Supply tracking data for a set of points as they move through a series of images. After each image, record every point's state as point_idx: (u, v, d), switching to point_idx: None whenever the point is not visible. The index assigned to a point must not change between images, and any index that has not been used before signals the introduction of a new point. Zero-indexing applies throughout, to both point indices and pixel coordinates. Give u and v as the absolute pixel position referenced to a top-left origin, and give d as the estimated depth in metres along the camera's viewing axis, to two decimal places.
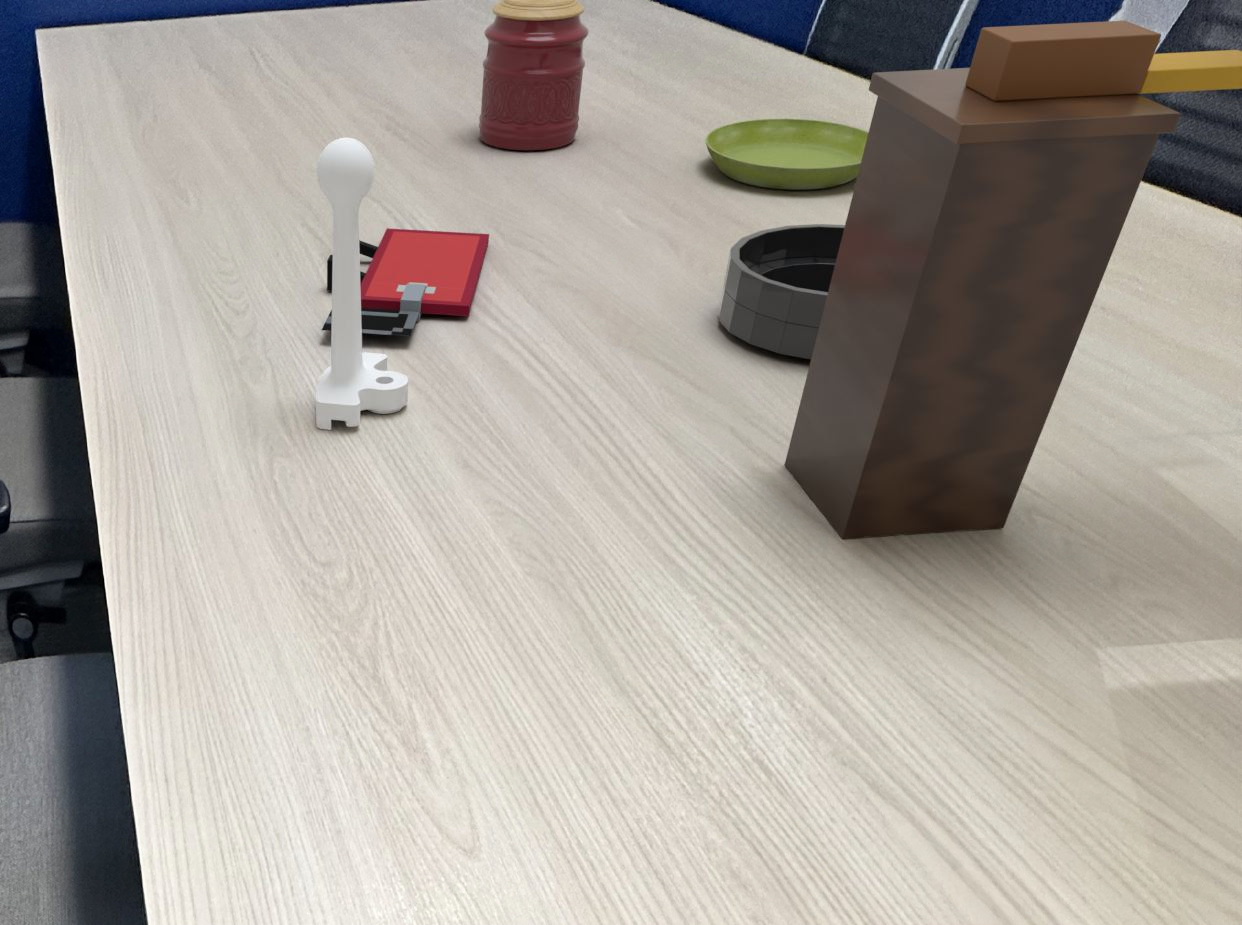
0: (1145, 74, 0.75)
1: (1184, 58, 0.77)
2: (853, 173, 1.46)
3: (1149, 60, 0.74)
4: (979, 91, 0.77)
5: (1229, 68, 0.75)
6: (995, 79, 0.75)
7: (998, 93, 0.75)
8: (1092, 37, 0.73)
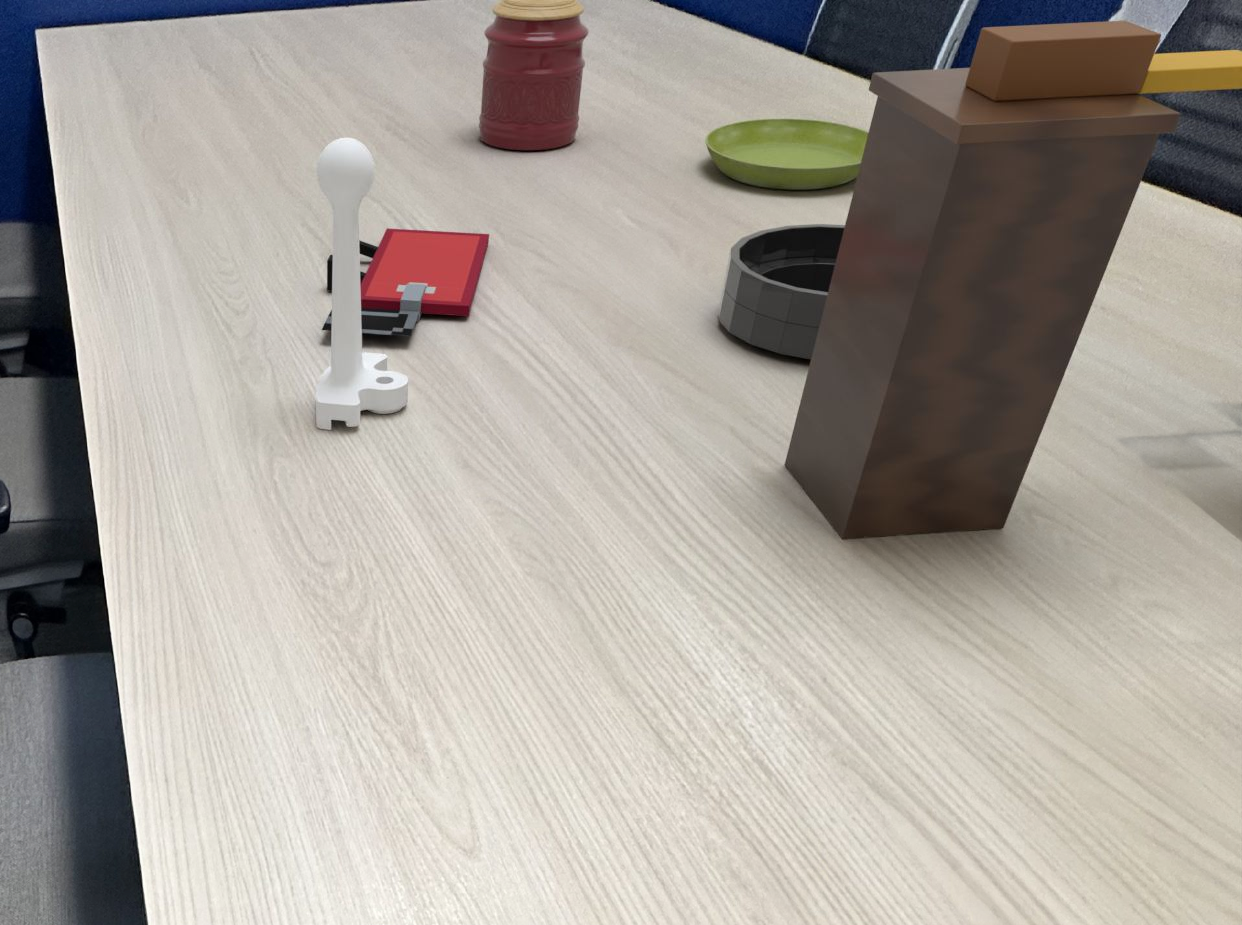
0: (1145, 74, 0.75)
1: (1184, 58, 0.77)
2: (853, 173, 1.46)
3: (1149, 60, 0.74)
4: (979, 91, 0.77)
5: (1229, 68, 0.75)
6: (995, 79, 0.75)
7: (998, 93, 0.75)
8: (1092, 37, 0.73)
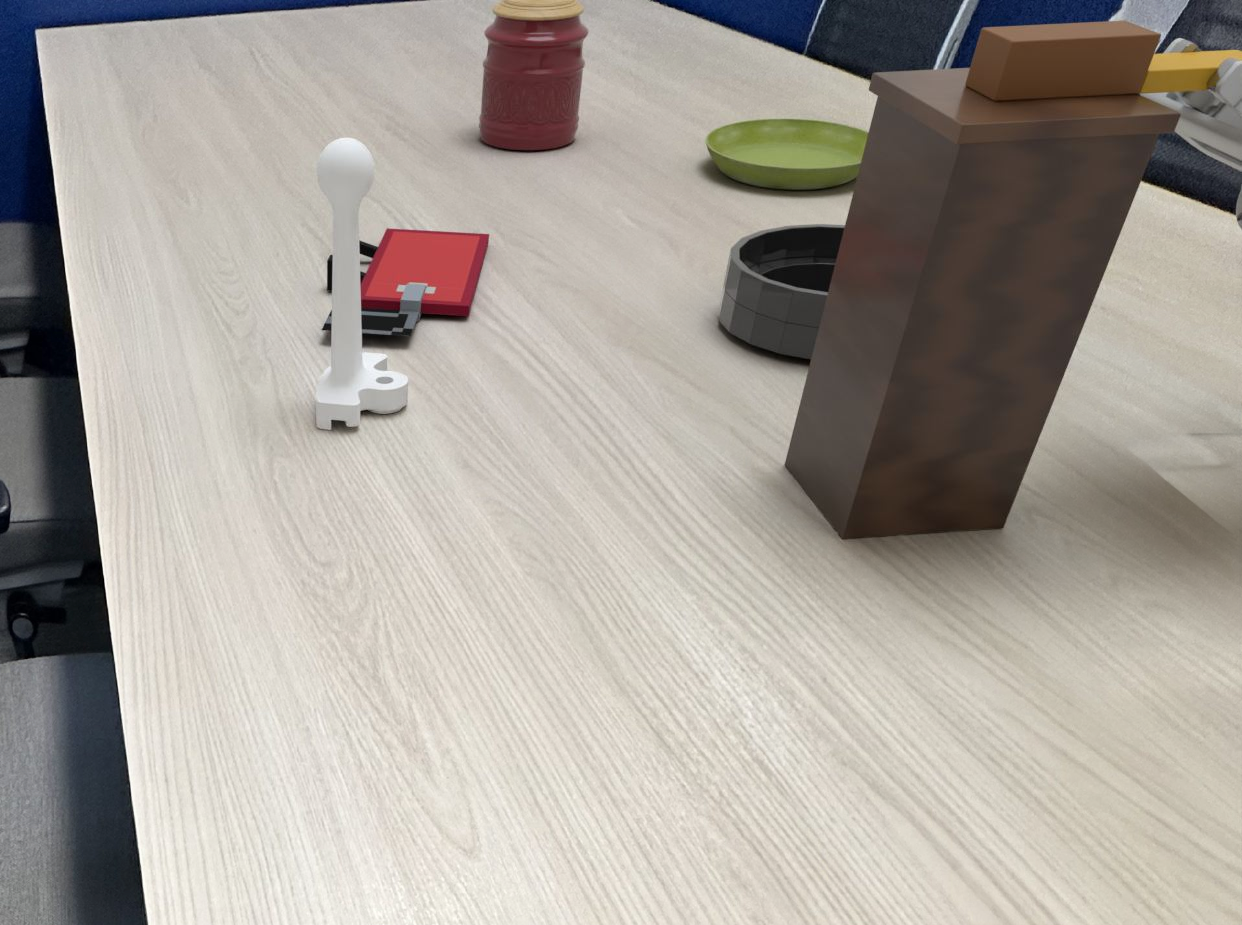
0: (1145, 74, 0.75)
1: (1184, 58, 0.77)
2: (853, 173, 1.46)
3: (1149, 60, 0.74)
4: (979, 91, 0.77)
5: None
6: (995, 79, 0.75)
7: (998, 93, 0.75)
8: (1092, 37, 0.73)
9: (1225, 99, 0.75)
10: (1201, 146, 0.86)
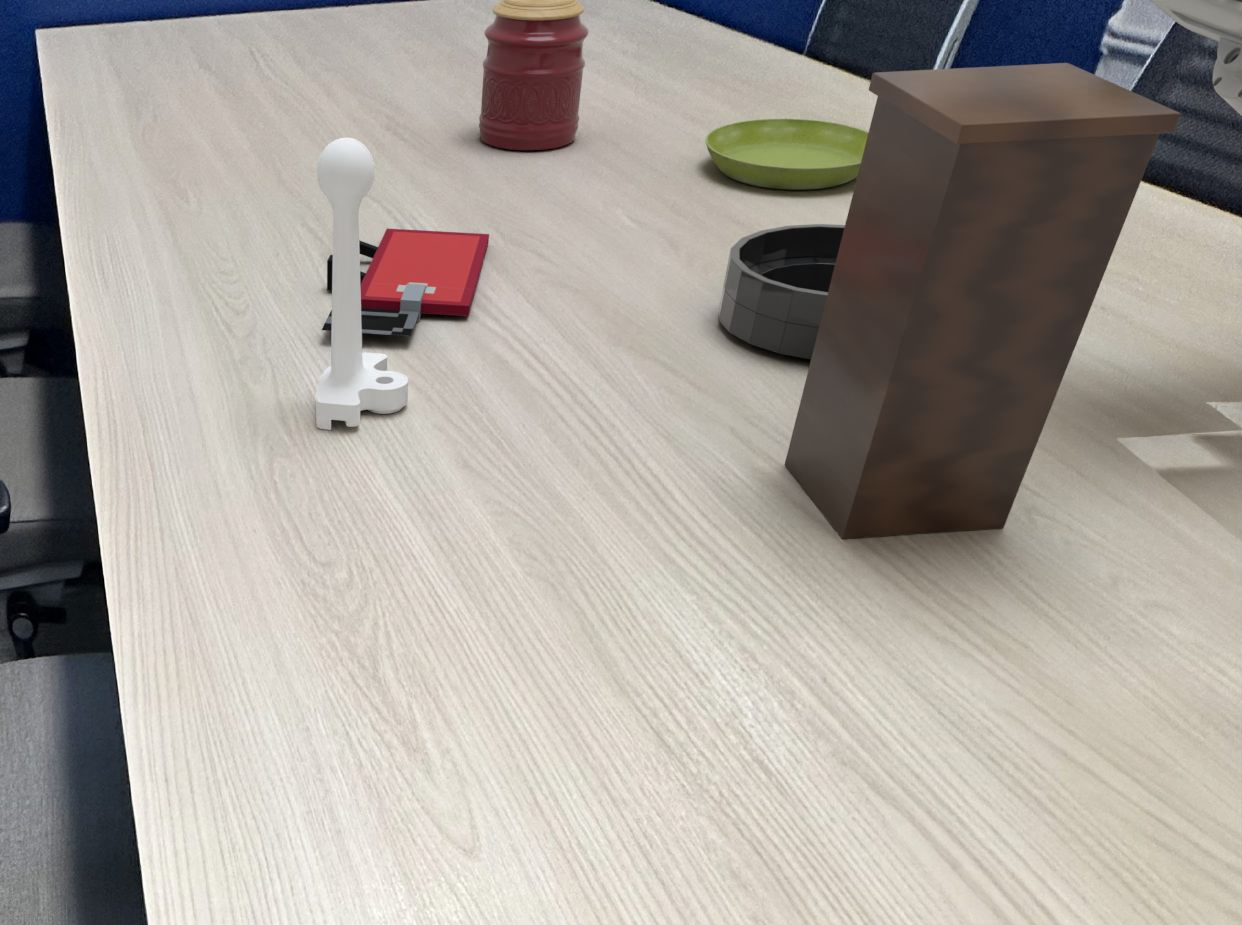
0: None
1: None
2: (853, 173, 1.46)
3: None
4: None
5: None
6: None
7: None
8: None
9: None
10: (1181, 19, 0.95)
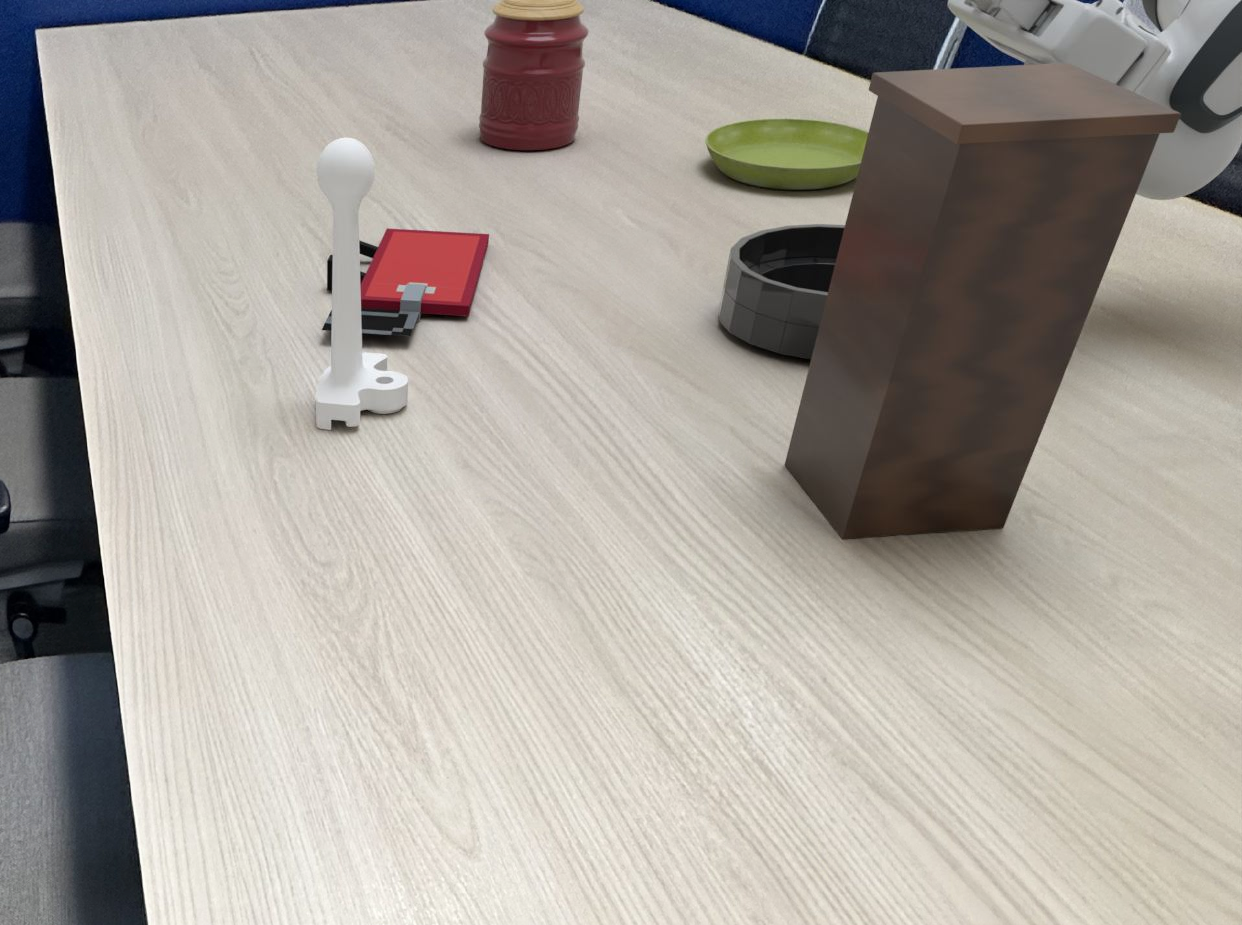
0: None
1: None
2: (853, 173, 1.46)
3: None
4: None
5: None
6: None
7: None
8: None
9: None
10: (996, 44, 1.10)
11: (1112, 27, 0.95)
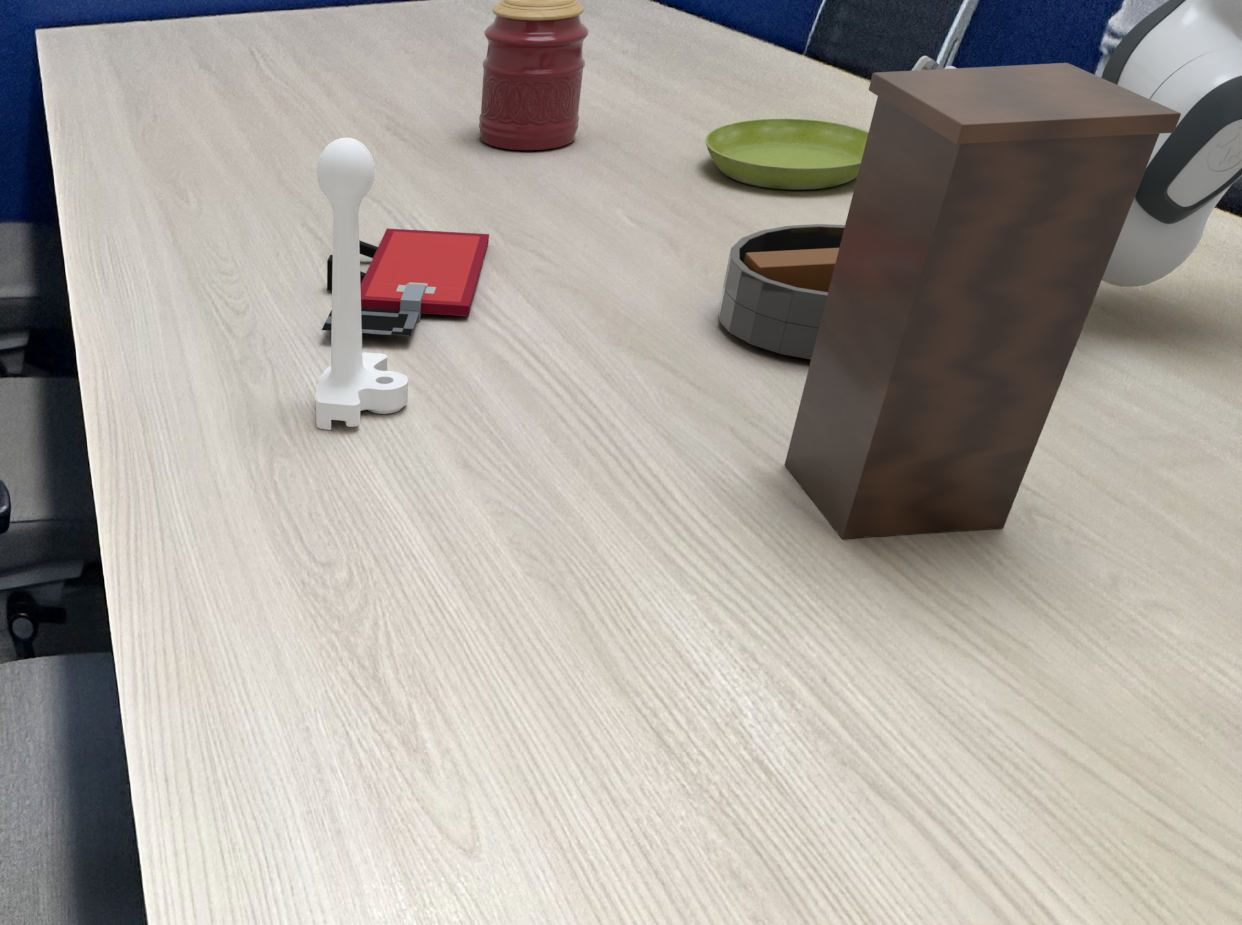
0: None
1: None
2: (853, 173, 1.46)
3: None
4: None
5: None
6: None
7: None
8: (812, 264, 1.13)
9: None
10: None
11: None
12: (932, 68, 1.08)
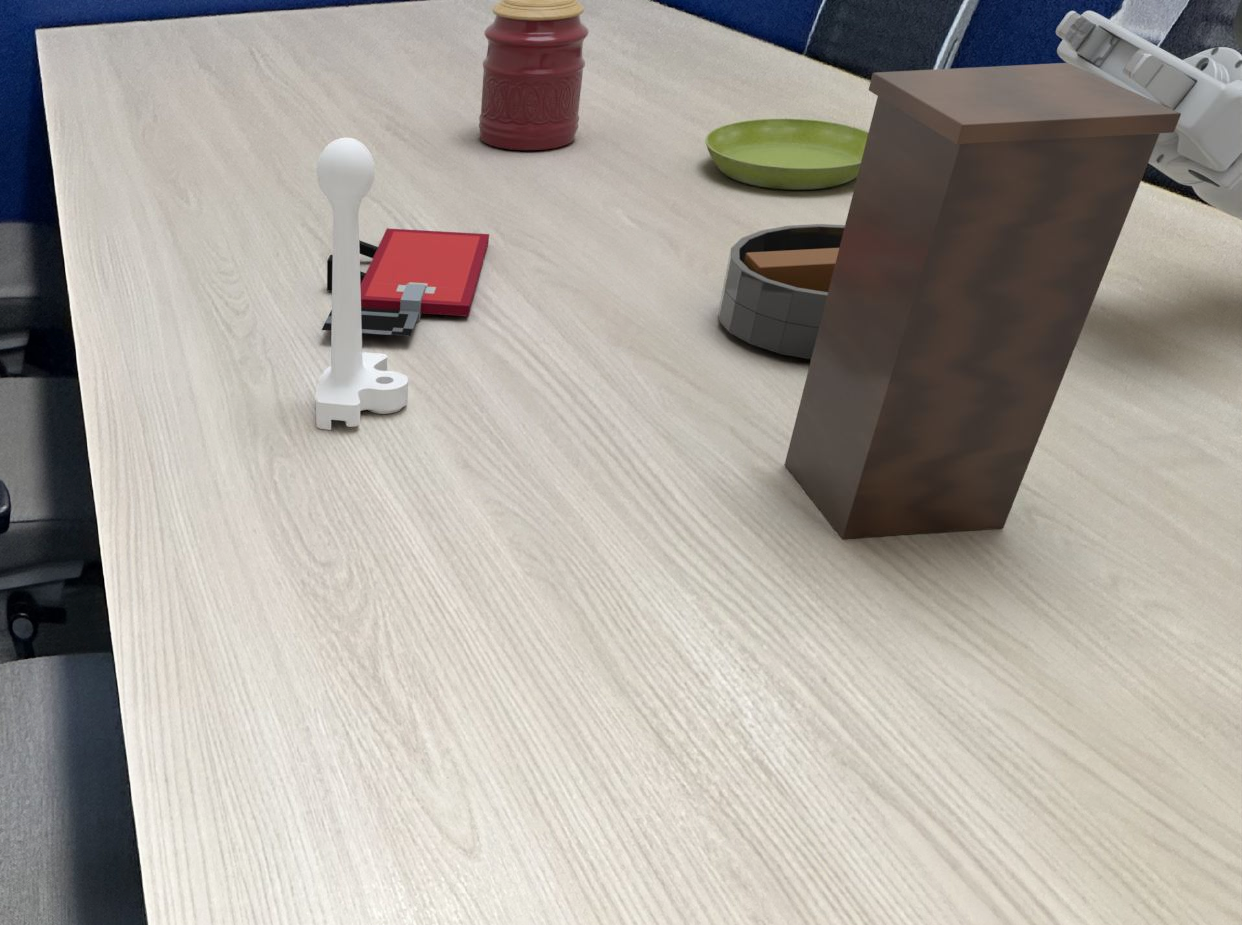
0: None
1: None
2: (853, 173, 1.46)
3: None
4: None
5: None
6: None
7: None
8: (812, 264, 1.13)
9: (1138, 83, 0.99)
10: None
11: None
12: (1081, 25, 1.04)
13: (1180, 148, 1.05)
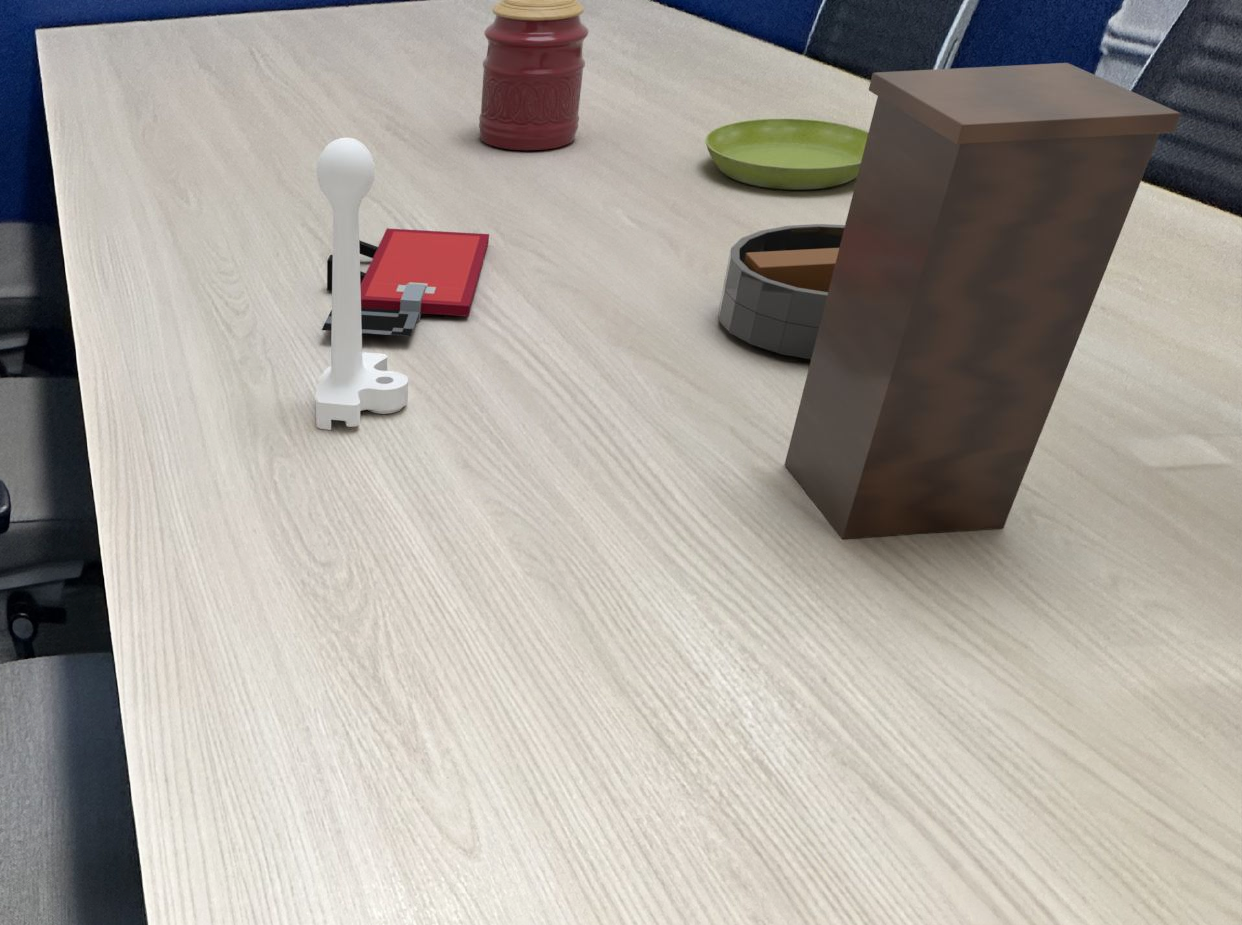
0: None
1: None
2: (853, 173, 1.46)
3: None
4: None
5: None
6: None
7: None
8: (812, 264, 1.13)
9: None
10: None
11: None
12: None
13: None
